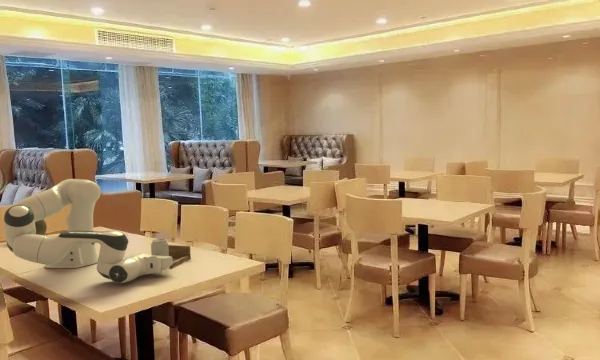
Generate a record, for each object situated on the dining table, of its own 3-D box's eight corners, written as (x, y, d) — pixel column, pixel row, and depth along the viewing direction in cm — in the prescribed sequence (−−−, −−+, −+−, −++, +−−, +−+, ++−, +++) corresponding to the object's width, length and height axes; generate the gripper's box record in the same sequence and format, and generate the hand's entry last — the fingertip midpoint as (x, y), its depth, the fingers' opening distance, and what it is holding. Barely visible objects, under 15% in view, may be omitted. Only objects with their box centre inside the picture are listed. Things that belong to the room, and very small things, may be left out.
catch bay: (172, 267, 224) (171, 254, 224) (145, 266, 228) (144, 253, 227) (190, 258, 241) (190, 245, 240) (165, 256, 244) (164, 244, 244)
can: (165, 268, 223) (164, 241, 222) (149, 268, 224) (147, 241, 223) (171, 263, 231) (170, 237, 230) (155, 263, 232) (154, 237, 231)
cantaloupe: (39, 236, 298) (37, 211, 297) (52, 239, 290) (50, 213, 289) (14, 241, 287) (12, 215, 286) (26, 244, 279) (25, 217, 277)
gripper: (118, 270, 213) (137, 262, 226) (162, 273, 207) (179, 264, 221) (118, 255, 212) (137, 248, 226) (161, 258, 207) (178, 250, 220)
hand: (158, 256), depth 223 cm, fingers closed
